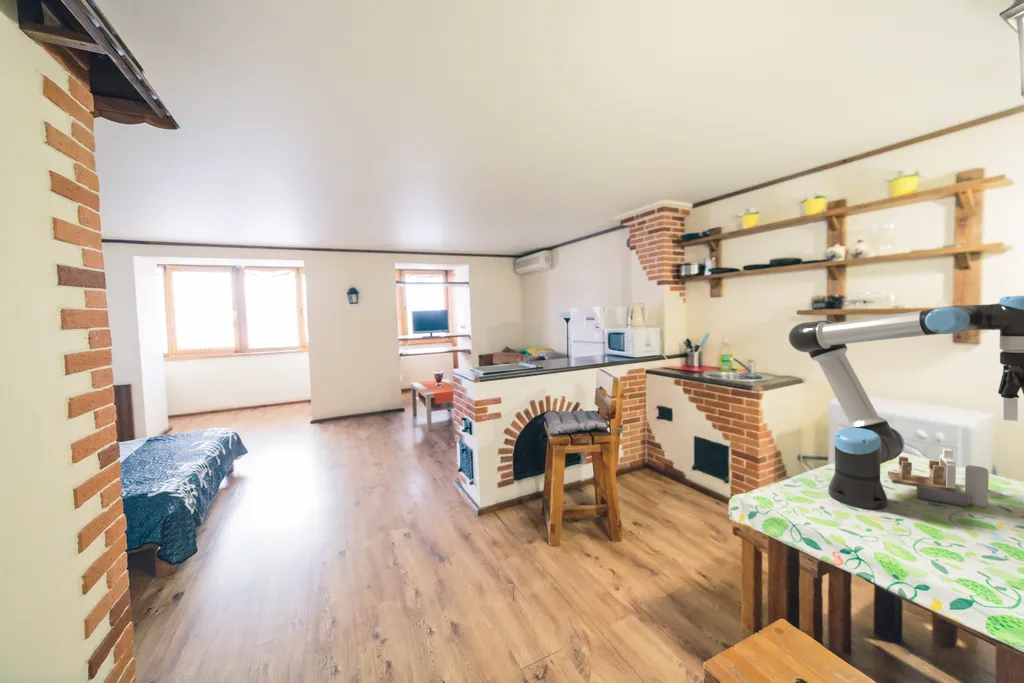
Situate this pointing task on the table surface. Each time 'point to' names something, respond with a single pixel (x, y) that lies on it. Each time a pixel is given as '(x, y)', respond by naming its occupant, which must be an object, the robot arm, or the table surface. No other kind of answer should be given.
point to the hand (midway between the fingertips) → (1021, 426)
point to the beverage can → (976, 485)
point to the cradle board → (928, 482)
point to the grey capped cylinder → (942, 496)
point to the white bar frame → (948, 467)
